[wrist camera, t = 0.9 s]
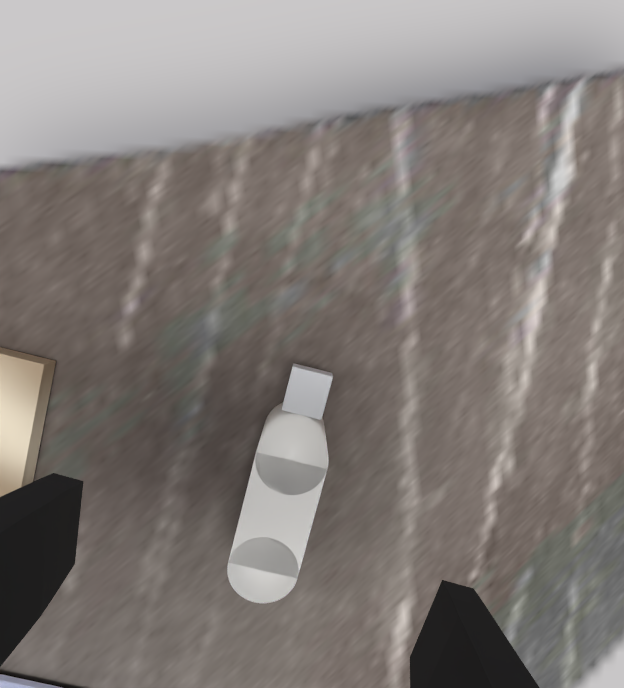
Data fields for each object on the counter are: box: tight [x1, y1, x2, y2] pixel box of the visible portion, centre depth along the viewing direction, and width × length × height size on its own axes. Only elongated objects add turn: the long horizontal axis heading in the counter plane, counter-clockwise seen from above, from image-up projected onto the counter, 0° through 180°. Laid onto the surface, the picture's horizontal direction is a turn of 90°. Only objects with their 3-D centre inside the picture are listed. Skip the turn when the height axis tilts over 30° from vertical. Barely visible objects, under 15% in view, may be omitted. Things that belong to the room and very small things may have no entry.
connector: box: [227, 363, 333, 603], centre depth 21 cm, size 10×3×4 cm, turn 166°
